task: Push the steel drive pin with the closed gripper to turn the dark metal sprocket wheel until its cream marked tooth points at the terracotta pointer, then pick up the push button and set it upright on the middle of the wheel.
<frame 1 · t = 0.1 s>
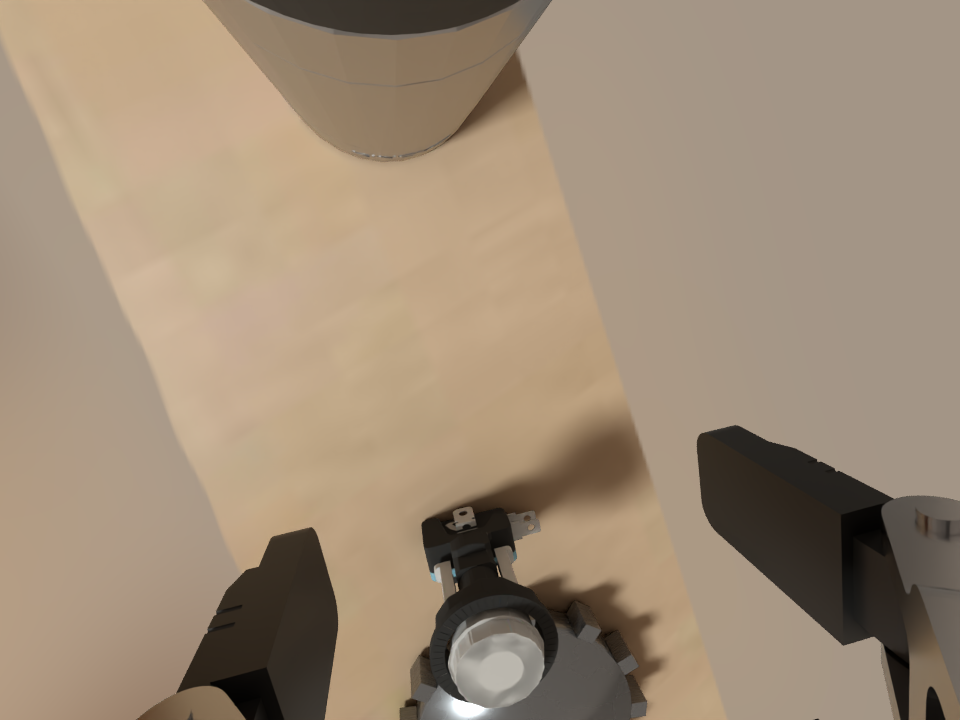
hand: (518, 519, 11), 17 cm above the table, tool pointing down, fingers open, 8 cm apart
push button: (476, 524, 30), on the table
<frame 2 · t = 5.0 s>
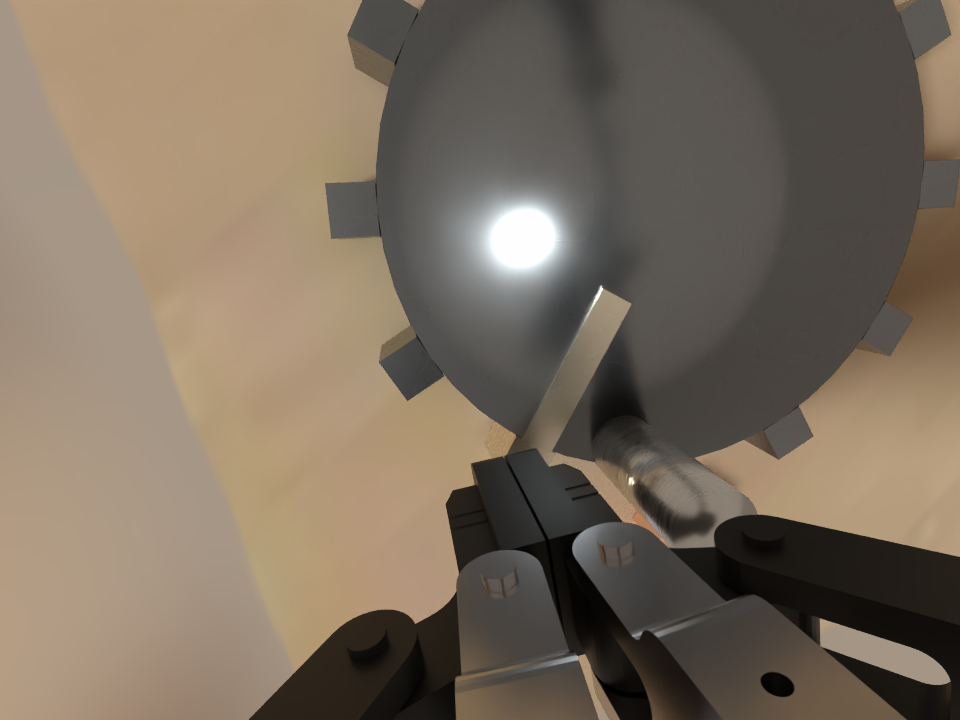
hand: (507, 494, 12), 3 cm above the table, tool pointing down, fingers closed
sprocket wheel: (693, 192, 11), point 3 cm above the table, hinge at -37.8°, touching gripper
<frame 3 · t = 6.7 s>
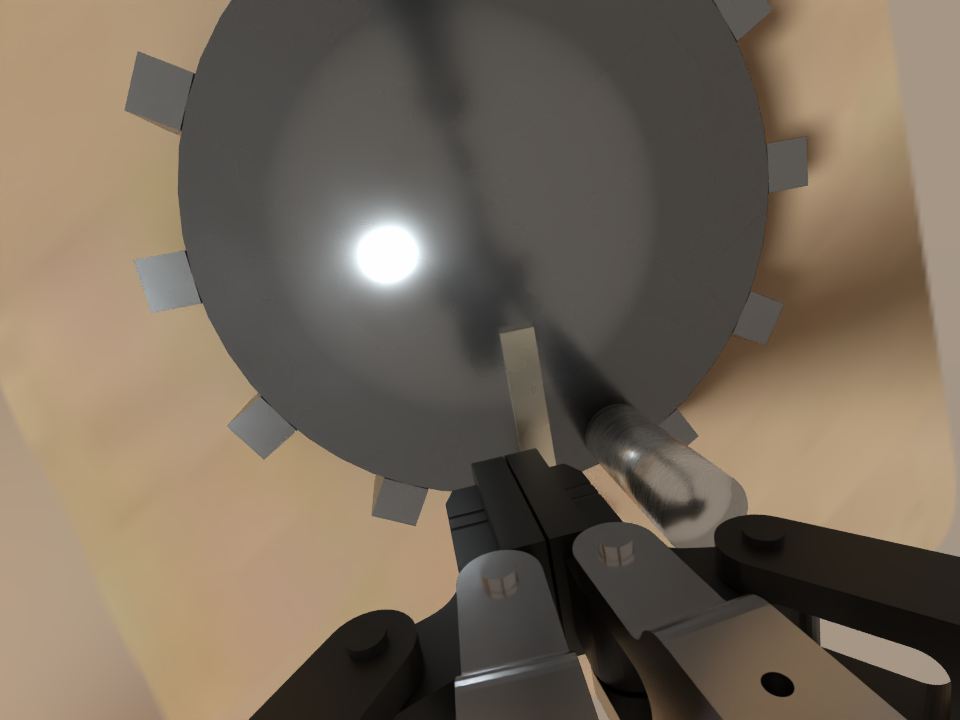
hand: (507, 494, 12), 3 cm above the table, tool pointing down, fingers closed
sprocket wheel: (506, 217, 11), point 3 cm above the table, hinge at 0.1°, touching gripper
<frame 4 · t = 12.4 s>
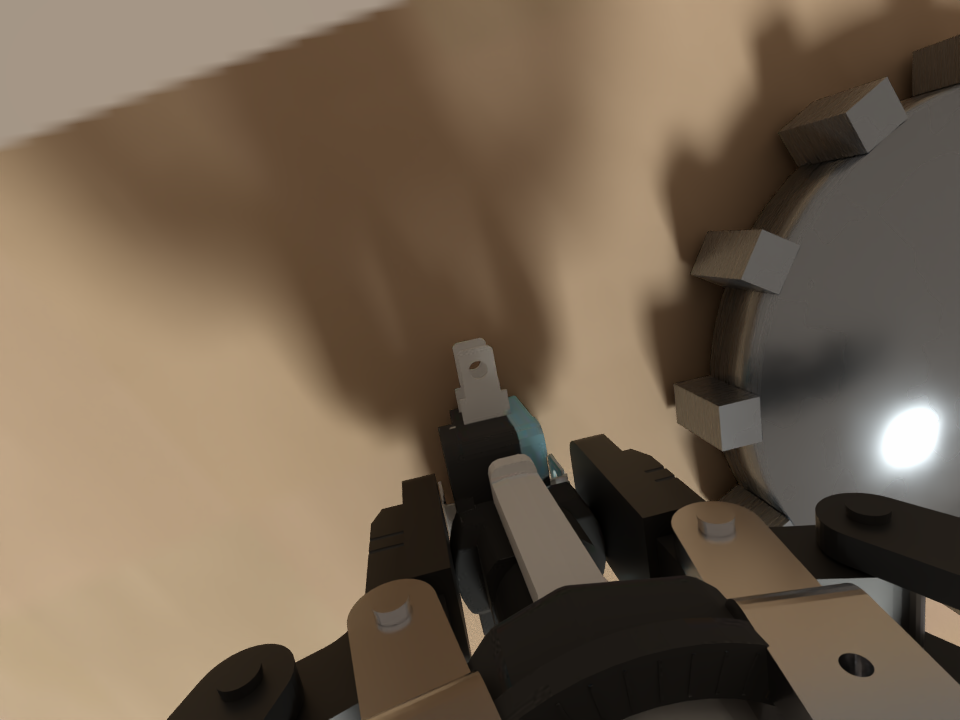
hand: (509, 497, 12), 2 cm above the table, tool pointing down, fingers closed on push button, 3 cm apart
push button: (491, 456, 14), on the table, touching gripper
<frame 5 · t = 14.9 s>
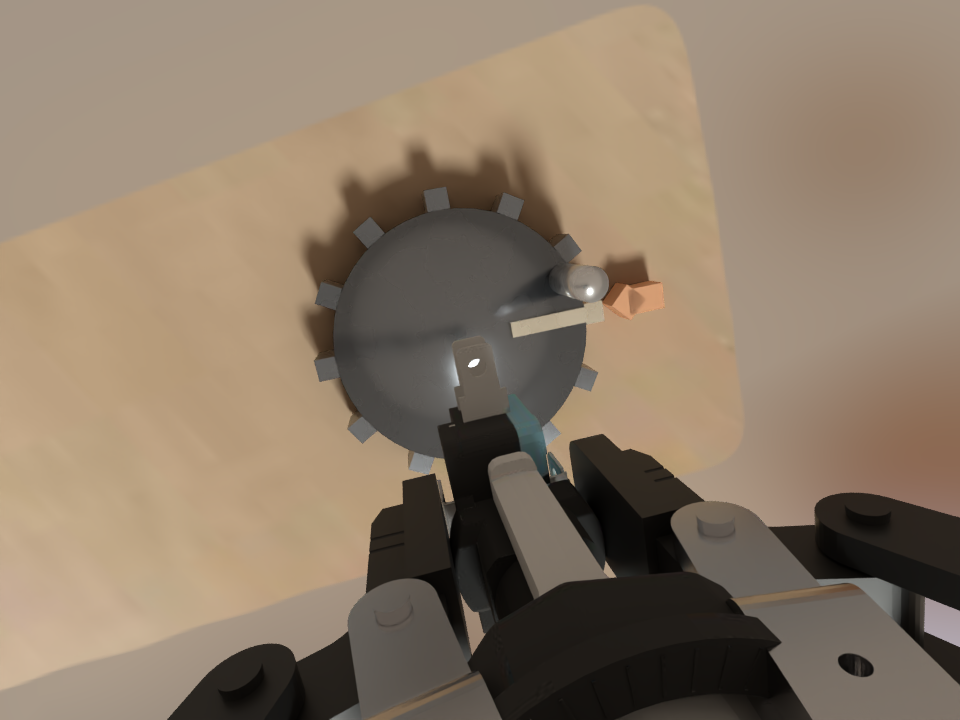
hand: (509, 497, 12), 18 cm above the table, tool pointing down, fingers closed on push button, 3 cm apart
push button: (490, 454, 14), point 16 cm above the table, touching gripper
pointer block: (634, 296, 30), on the table
sprocket wheel: (466, 343, 26), point 3 cm above the table, hinge at 0.1°
when the fingers open (5 cm above the table, at t = 18.0 s): push button moves 2 cm, resting on sprocket wheel.
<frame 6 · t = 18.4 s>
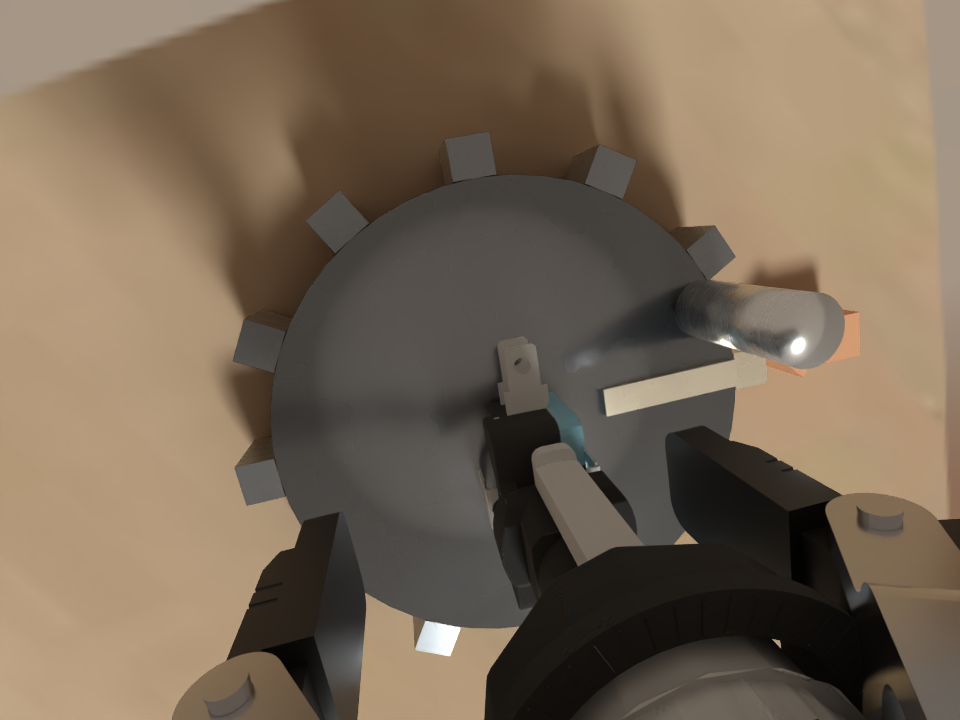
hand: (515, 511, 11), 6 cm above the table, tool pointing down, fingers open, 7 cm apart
push button: (526, 447, 15), point 2 cm above the table, touching sprocket wheel
pointer block: (795, 332, 18), on the table
sprocket wheel: (526, 434, 14), point 3 cm above the table, hinge at 0.1°, touching push button
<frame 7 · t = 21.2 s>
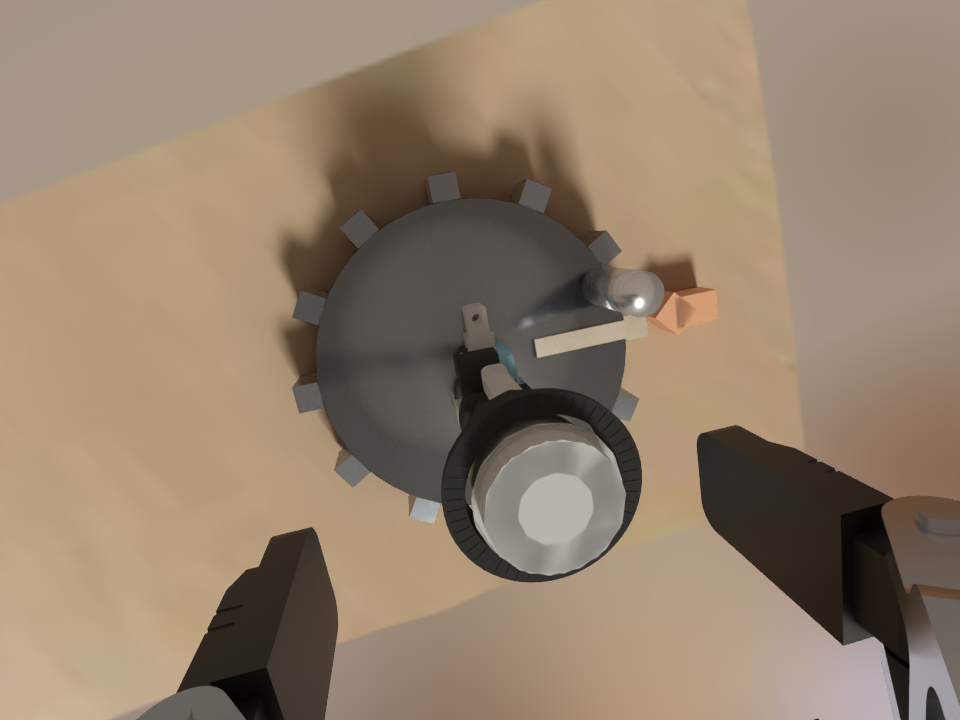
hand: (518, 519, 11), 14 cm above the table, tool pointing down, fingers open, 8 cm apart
push button: (483, 378, 22), point 2 cm above the table, touching sprocket wheel
pointer block: (679, 305, 25), on the table
sprocket wheel: (481, 366, 21), point 3 cm above the table, hinge at 0.1°, touching push button
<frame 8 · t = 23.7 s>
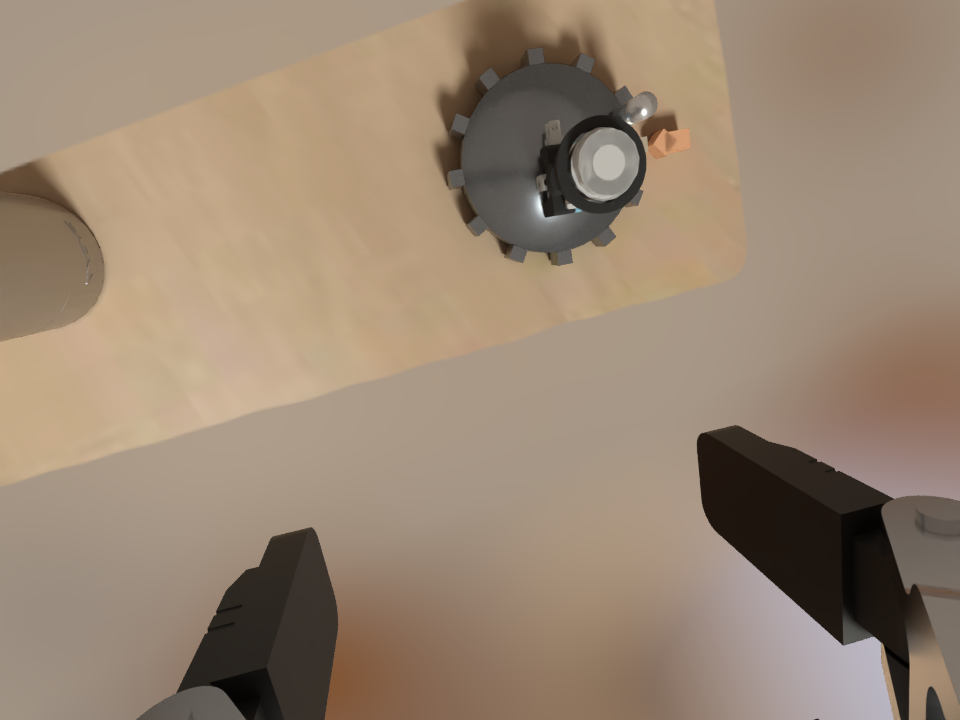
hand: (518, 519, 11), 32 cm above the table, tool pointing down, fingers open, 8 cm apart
push button: (554, 173, 39), point 2 cm above the table, touching sprocket wheel
pointer block: (667, 143, 42), on the table
sprocket wheel: (555, 159, 38), point 3 cm above the table, hinge at 0.1°, touching push button
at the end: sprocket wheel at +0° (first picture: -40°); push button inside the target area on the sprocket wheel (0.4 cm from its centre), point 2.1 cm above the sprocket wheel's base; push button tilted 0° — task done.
